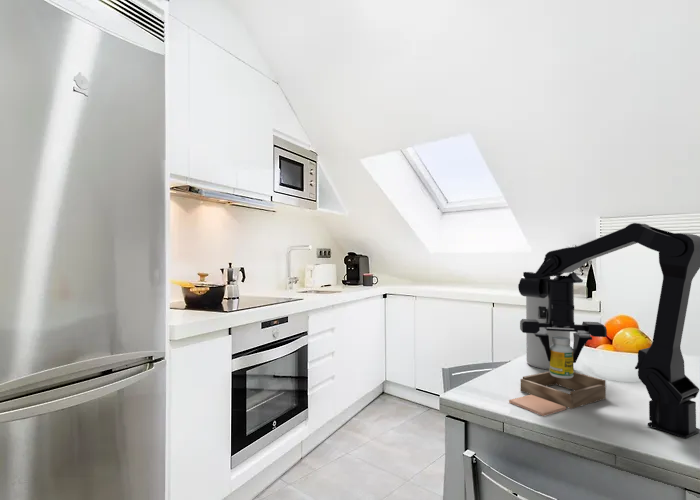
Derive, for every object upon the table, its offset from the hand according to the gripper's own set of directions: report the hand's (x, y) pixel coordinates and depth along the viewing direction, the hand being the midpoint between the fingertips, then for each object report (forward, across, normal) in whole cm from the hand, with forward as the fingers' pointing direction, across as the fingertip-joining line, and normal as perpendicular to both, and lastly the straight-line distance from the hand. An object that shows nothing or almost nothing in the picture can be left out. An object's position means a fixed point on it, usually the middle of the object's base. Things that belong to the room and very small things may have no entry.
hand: (561, 361), depth 99 cm
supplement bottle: (+4, 0, 0) cm, 4 cm away
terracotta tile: (+8, +7, +10) cm, 15 cm away
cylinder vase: (+8, -2, -28) cm, 30 cm away
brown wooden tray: (+8, 0, 0) cm, 8 cm away
